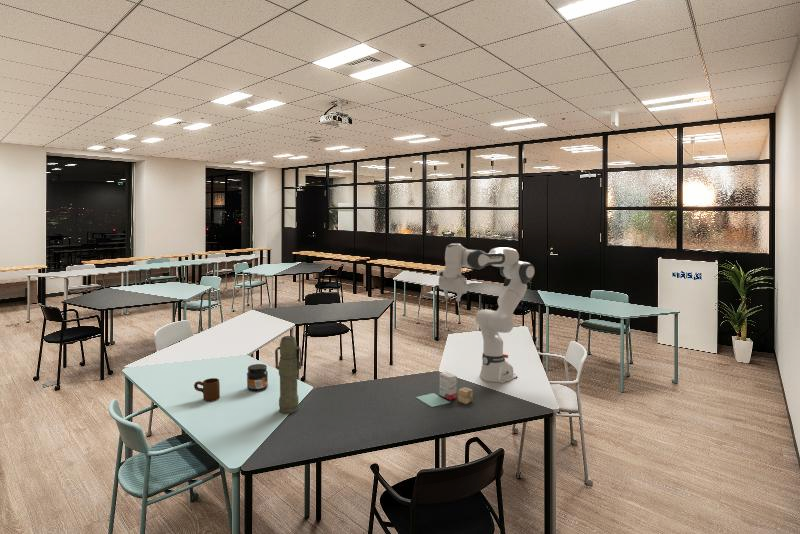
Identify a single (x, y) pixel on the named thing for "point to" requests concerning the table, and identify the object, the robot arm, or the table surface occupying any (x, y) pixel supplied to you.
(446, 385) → the ink box
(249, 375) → the supplement container
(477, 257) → the robot arm
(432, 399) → the mat
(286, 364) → the thermos
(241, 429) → the table surface
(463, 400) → the oak block
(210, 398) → the mug
